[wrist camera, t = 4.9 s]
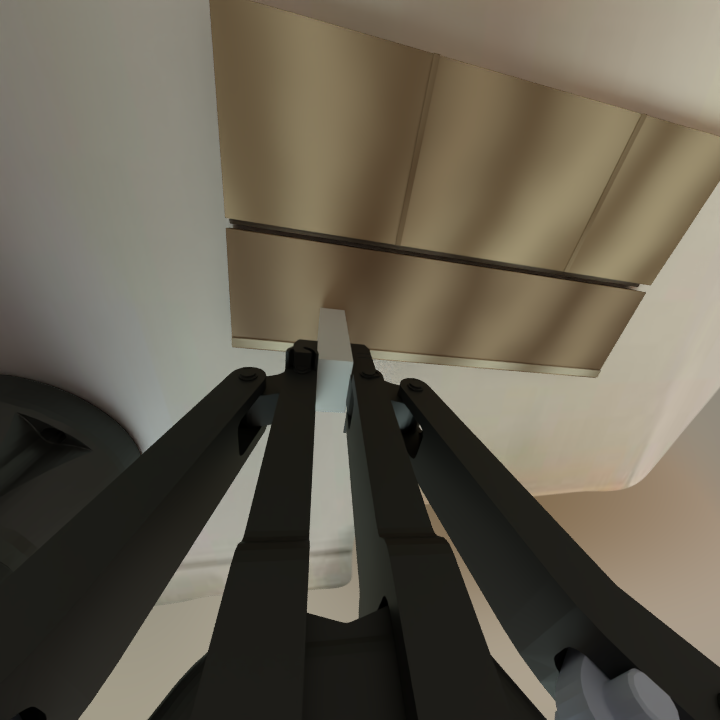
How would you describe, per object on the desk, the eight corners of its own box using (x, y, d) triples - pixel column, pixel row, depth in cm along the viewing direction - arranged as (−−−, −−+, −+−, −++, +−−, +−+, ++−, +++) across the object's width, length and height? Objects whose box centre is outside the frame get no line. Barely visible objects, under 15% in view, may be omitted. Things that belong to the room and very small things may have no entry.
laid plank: (232, 222, 16) (225, 224, 14) (219, 8, 12) (207, -14, 11) (631, 285, 20) (648, 289, 19) (717, 147, 16) (745, 143, 15)
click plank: (237, 340, 19) (232, 348, 18) (232, 227, 16) (225, 228, 15) (582, 370, 23) (596, 378, 22) (629, 288, 20) (647, 292, 19)
